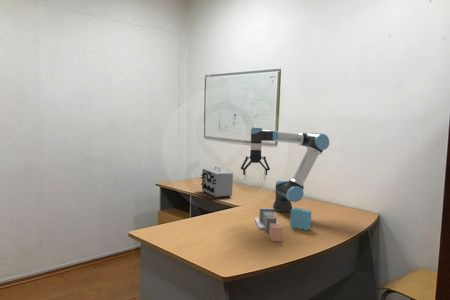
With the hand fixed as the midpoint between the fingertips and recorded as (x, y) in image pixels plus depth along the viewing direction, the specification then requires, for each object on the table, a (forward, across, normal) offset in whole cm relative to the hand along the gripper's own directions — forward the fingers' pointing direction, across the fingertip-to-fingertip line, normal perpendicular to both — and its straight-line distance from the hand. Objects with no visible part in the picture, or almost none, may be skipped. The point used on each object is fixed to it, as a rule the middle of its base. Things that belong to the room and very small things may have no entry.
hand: (254, 179), depth 231 cm
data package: (+27, -27, +23) cm, 44 cm away
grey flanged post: (+27, -7, +18) cm, 33 cm away
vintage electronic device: (+27, +25, -71) cm, 80 cm away
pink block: (+26, -7, +43) cm, 51 cm away
